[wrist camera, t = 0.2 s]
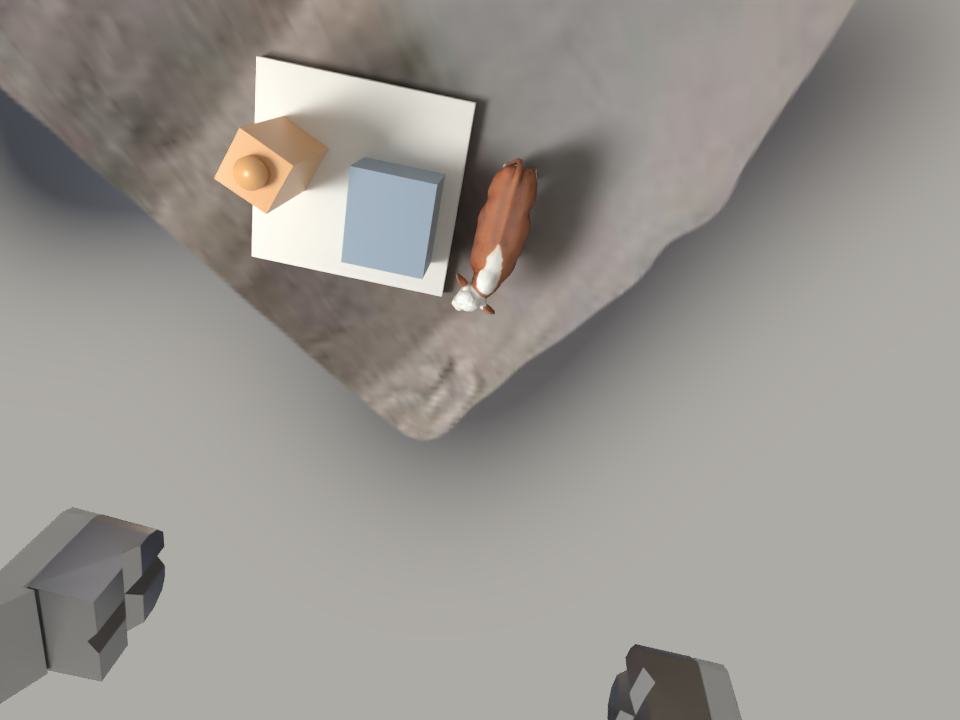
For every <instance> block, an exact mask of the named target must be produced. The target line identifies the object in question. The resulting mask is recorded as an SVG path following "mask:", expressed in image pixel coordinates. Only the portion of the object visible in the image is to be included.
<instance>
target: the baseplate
mask: <svg viewBox="0 0 960 720" xmlns="http://www.w3.org/2000/svg"><path fill="white" fill-rule="evenodd" d="M476 103H477V102H473V101H468V100H463V99H459V98H454V97H449V96H445V95H440V94H435V93H431V92H426V91H421V90H417V89H412V88H407V87H403V86H398V85H393V84H389V83H384V82H379V81H375V80H370V79H365V78H361V77H356V76H351V75H347V74H342V73H338V72H333V71H328V70H324V69H319V68H314V67H310V66H305V65H300V64H296V63H291V62H286V61H282V60H277V59H272V58H268V57H263V56H256V93H255V123H259V122H263V121H266V120H270V119H274V118H277V117H281V116H285V117H286V118H288V119H289V120H290V121H292V122H293V123H294V124H296V125H297V126H298V127H300V128H301V129H303V130H304V131H305V132H307V133H308V134H309V135H311V136H312V137H314V138H315V139H316V140H318V141H319V142H320V143H322V144H323V145H325V146H326V147H327V148H329V149H328V151H327V153H326V155H325V156H324V158H323V160H322V161H321V163H320V165H319V167H318V168H317V170H316V172H315V174H314V175H313V177H312V179H311V180H310V182H309V184H308V186H307V187H306V189H305V191H303V192H302V193H300V194H298V195H297V196H295V197H294V198H292V199H290V200H289V201H287V202H285V203H284V204H282V205H280V206H279V207H277V208H276V209H274V210H272V211H271V212H269V213H267V214H265V213H264V212H262V211H261V210H260V209H258V208H257V207H255V206H254V205H253V218H252V257H257V258H262V259H266V260H271V261H276V262H280V263H285V264H290V265H295V266H299V267H304V268H309V269H314V270H318V271H323V272H328V273H332V274H337V275H342V276H347V277H351V278H356V279H361V280H366V281H370V282H375V283H380V284H384V285H389V286H394V287H399V288H403V289H408V290H413V291H417V292H422V293H427V294H432V295H436V296H441V297H442V295H443V291H444V285H445V280H446V274H447V268H448V262H449V257H450V251H451V245H452V240H453V234H454V228H455V222H456V217H457V211H458V205H459V200H460V194H461V188H462V183H463V177H464V171H465V165H466V160H467V154H468V148H469V143H470V137H471V131H472V126H473V120H474V114H475V108H476ZM364 157H367V158H371V159H376V160H381V161H385V162H390V163H395V164H399V165H404V166H409V167H414V168H418V169H423V170H428V171H432V172H437V173H442V174H445V178H444V184H443V191H442V197H441V203H440V209H439V215H438V221H437V228H436V234H435V240H434V246H433V252H432V259H431V263H430V265H429V267H428V269H427V271H426V273H425V275H424V277H423V279H419V278H414V277H409V276H405V275H400V274H395V273H391V272H386V271H381V270H376V269H372V268H367V267H362V266H358V265H353V264H348V263H343V262H341V258H342V247H343V237H344V226H345V215H346V204H347V194H348V183H349V172H350V166H351V165H352V164H354V163H356V162H357V161H359V160H360V159H362V158H364Z"/></svg>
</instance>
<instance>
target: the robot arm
mask: <svg viewBox="0 0 960 720" xmlns="http://www.w3.org/2000/svg"><path fill="white" fill-rule="evenodd" d="M163 547H164V536H163V532H162V531H160V530H157V529H153V528H150V527H146V526H142V525H138V524H135V523H131V522H127V521H123V520H120V519H117V518H113V517H109V516H105V515H101V514H96V513H93V512H89V511H85V510H81V509H78V508H73V507H72V508H70V509H68V510H66V511H63V512H62V513H60V514H59V515H58V516H57V517H56V518H55V519H54V520H53V521H52V522H51V523H50V524H49V525H48V526H47V527H45V528H44V530H42V531H41V532H40V533H39V534H38V535H37V536H36V537H35V538H34V539H33V540H32V541H31V542H30V543H29V544H27V545H26V546H25V548H23V549H22V550H21V551H20V552H19V553H18V554H17V555H16V556H15V557H14V558H13V559H12V560H11V561H9V562H8V563H7V564H6V565H5V566H4V567H3V568H2V569H1V570H0V703H2V702H3V701H5V700H7V699H8V698H10V697H11V696H13V695H15V694H16V693H18V692H19V691H21V690H22V689H24V688H26V687H27V686H29V685H30V684H32V683H33V682H35V681H37V680H38V679H39V678H41V677H43V676H44V675H46V674H47V670H50V671H54V672H59V673H64V674H69V675H73V676H78V677H83V678H88V679H93V680H97V681H102V680H103V679H104V678H105V676H106V675H107V673H108V672H109V671H110V669H111V668H112V666H113V665H114V664H115V662H116V661H117V659H118V658H119V657H120V655H121V654H122V652H123V651H124V650H125V648H126V647H127V645H128V641H127V631H128V630H130V629H132V628H133V627H135V626H137V625H139V624H141V623H143V622H144V621H145V620H146V618H147V617H148V616H149V614H150V612H151V611H152V610H153V608H154V606H155V604H156V602H157V600H158V598H159V595H160V593H161V591H162V587H163V583H164V578H165V565H164V564H163V563H162V561H161V560H160V559H159V558H158V556H157V555H158V554H159V553H160V551H161V550H162V549H163ZM626 666H627V670H626V671H624V672H622V673H620V674H618V675H617V676H616V678H615V681H614V683H613V685H612V688H611V692H610V697H609V702H608V720H742V718H741V716H740V712H739V708H738V705H737V701H736V698H735V694H734V691H733V687H732V684H731V680H730V677H729V674H728V671H727V669H726V668H725V667H724V665H721V664H718V663H713V662H709V661H705V660H701V659H697V658H691V657H690V656H686V655H681V654H677V653H672V652H668V651H664V650H659V649H654V648H651V647H646V646H642V645H637V644H635V645H634V646H633V647H631V648H630V650H629V652H628V654H627V656H626Z"/></svg>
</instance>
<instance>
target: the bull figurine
mask: <svg viewBox="0 0 960 720" xmlns="http://www.w3.org/2000/svg"><path fill="white" fill-rule="evenodd" d="M515 164H517V166H513V165H515ZM536 198H537V169H536V167H532V168H531V169H523V162H522V160H521V159H519V158H518V159H515V160H513V161H512V162H510V163H505V164H504V165H503V168H501V169H500V170H499V171H498V172H497V173H496V175H495V176H494V178H493V181H492V183H491V184H490V186H489V189H488V200H487V202H486V204H485V205H484V206H483V208H482V209H481V211H480V214H479V217H478V225H477V230H476V234H475V238H474V244H473V248H472V252H471V267H472V269H473V271H474V276H473V278H472V281H471V282H470V283H468V282H467V281H466V279H465V278H463V277H462V276H461V275H460V274H458V273H457V274H456V278H457V281H458V283H459V284H460V285H461V286H462V288H461V289H460V291H459V292H458V294H457V295H456V296H455V297H454V298H453V301H452V305H453V306H454V307H455V309H457V310H458V311H461V310H465V311H474V310H476V309H477V308H478V307H480V308H481V309H482V310H483V311H484V312H485V313H488V314H495V312H494V310H493V309H492V308H491V307H490V306H489V305H487V304H486V298H487V297H489V296H490V295H492V294H493V293H494V292H495V291H496V290H497V289H498V288H499V287H500V285H501V283H502V282H503V281H504V280H505V279H506V278H507V277H508V276H509V275H510V274H511V273H512V271H513V270H514V267H515V265H516V262H517V259H518V257H519V255H520V254H521V252H522V249H523V247H524V244H525V241H526V239H527V237H528V234H529V231H530V215H529V212H530V210H531V209H532V207H533V206H534V204H535V202H536Z"/></svg>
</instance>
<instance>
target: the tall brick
mask: <svg viewBox="0 0 960 720" xmlns="http://www.w3.org/2000/svg"><path fill="white" fill-rule="evenodd" d="M328 149H329V148H327V147H326V146H325V145H323V144H322V143H320V142H319V141H318V140H316V139H315V138H314V137H312V136H311V135H309V134H308V133H307V132H305V131H304V130H303V129H301V128H300V127H298V126H297V125H296V124H294V123H293V122H292V121H290V120H289V119H288V118H286V117H285V116H281V117H277V118H274V119H270V120H266V121H263V122H259V123H255V124H251V125H248V126H244V127H240V128H239V130H238V132H237V134H236V136H235V138H234V140H233V142H232V144H231V146H230V148H229V150H228V152H227V154H226V156H225V158H224V160H223V162H222V164H221V166H220V168H219V170H218V172H217V174H216V176H215V178H214V179H216V180H217V181H219V182H220V183H222V184H223V185H225V186H226V187H228V188H229V189H230V190H232V191H233V192H235V193H236V194H238V195H239V196H241V197H242V198H244V199H245V200H246V201H248V202H249V203H251V204H252V205H254V206H255V207H257V208H258V209H260V210H261V211H262V212H264V213H265V214H267V213H269V212H271V211H272V210H274V209H276V208H277V207H279V206H280V205H282V204H284V203H285V202H287V201H289V200H290V199H292V198H294V197H295V196H297V195H298V194H300V193H302V192H303V191H305V189H306V187H307V186H308V184H309V182H310V180H311V179H312V177H313V175H314V174H315V172H316V170H317V168H318V167H319V165H320V163H321V161H322V160H323V158H324V156H325V155H326V153H327V151H328Z"/></svg>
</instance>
